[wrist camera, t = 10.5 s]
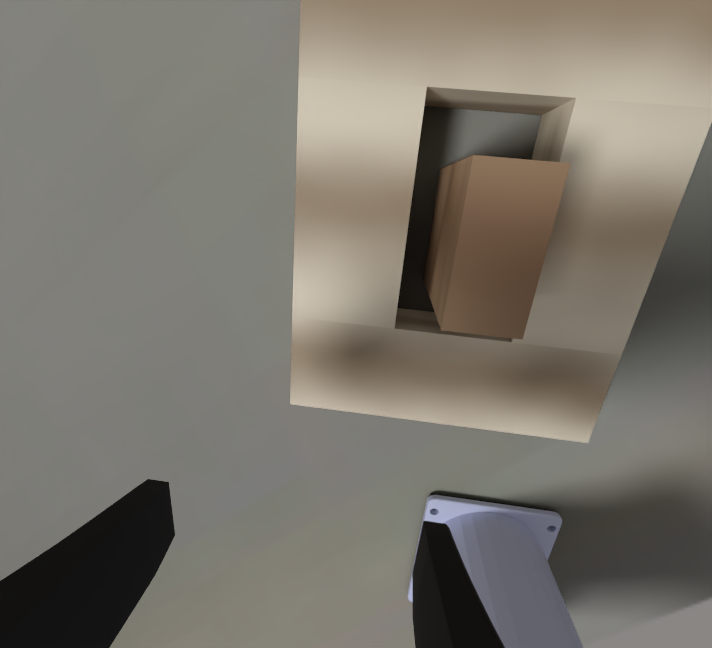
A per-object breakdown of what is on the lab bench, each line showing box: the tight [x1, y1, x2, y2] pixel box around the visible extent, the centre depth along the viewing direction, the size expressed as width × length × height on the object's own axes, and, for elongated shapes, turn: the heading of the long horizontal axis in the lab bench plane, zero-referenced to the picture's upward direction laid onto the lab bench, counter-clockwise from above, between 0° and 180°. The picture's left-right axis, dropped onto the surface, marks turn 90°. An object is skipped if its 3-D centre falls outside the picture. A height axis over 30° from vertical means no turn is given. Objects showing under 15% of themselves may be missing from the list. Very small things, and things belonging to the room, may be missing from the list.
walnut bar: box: [423, 155, 570, 340], centre depth 14 cm, size 5×2×7 cm, turn 175°
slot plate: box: [290, 0, 712, 443], centre depth 15 cm, size 18×14×3 cm
